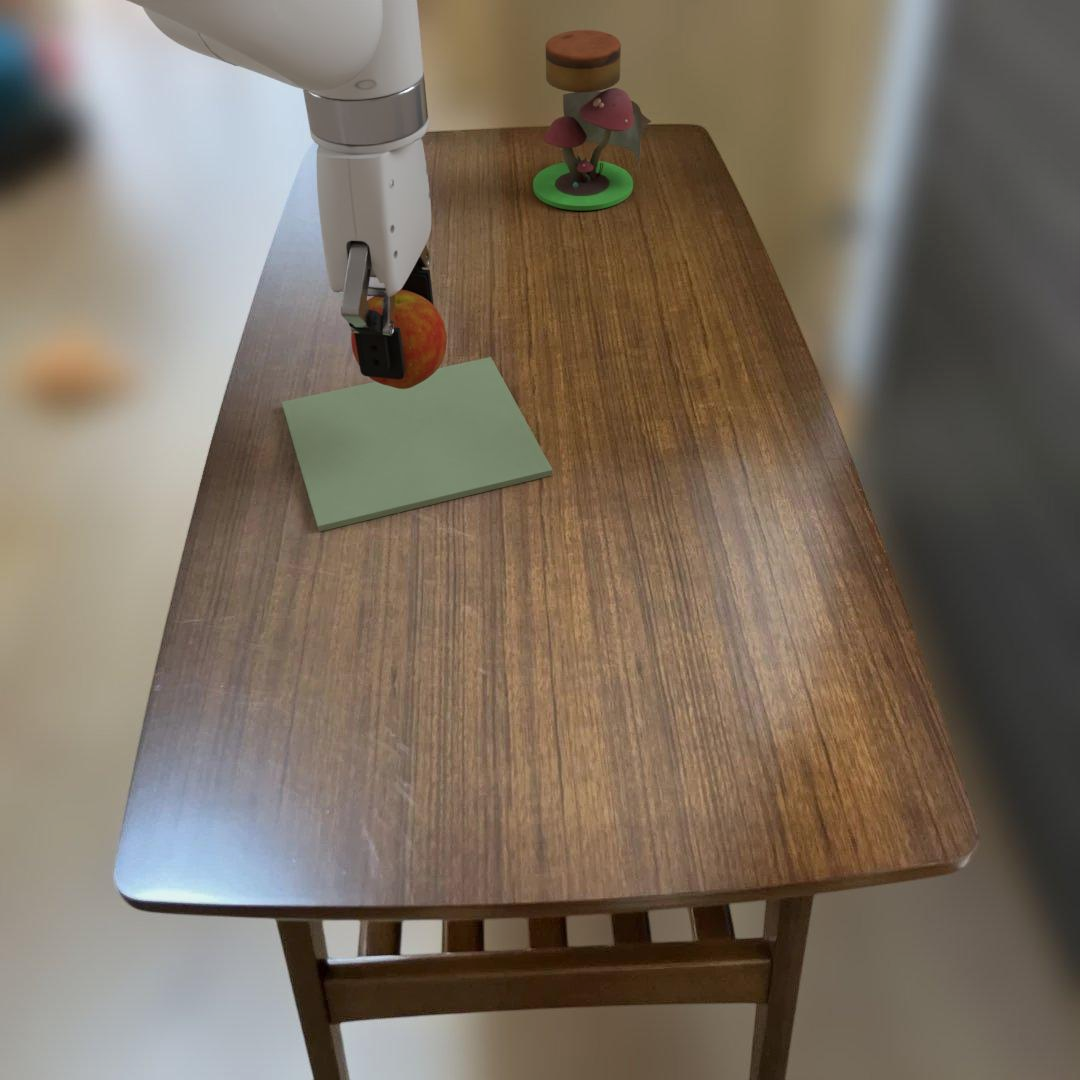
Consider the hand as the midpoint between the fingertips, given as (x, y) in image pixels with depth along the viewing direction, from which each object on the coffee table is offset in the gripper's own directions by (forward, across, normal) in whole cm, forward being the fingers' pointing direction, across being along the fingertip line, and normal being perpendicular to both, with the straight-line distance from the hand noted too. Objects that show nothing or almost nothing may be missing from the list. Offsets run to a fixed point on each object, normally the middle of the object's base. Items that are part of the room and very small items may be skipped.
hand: (398, 343), depth 82 cm
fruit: (+3, 0, 0) cm, 3 cm away
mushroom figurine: (+9, -44, +7) cm, 46 cm away
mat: (+9, 0, 0) cm, 9 cm away
